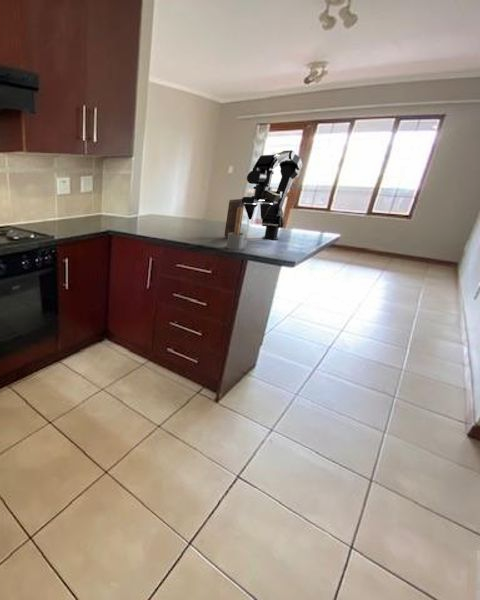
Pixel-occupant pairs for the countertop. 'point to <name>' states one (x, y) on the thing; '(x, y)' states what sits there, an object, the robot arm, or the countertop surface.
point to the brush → (238, 221)
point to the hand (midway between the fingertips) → (256, 219)
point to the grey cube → (235, 241)
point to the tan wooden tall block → (233, 216)
